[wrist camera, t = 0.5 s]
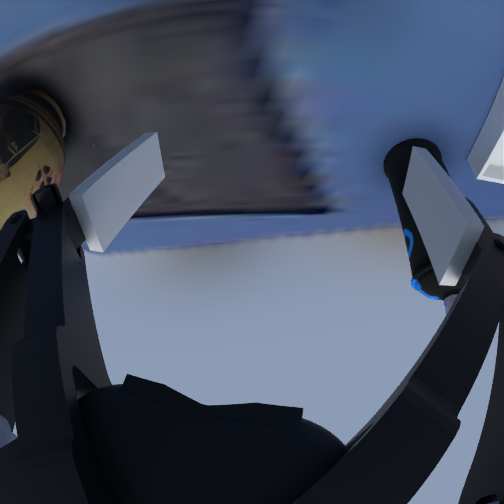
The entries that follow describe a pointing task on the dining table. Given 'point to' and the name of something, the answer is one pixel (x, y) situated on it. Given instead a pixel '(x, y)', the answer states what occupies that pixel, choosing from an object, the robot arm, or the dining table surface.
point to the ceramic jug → (29, 149)
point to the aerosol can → (417, 252)
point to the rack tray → (490, 144)
